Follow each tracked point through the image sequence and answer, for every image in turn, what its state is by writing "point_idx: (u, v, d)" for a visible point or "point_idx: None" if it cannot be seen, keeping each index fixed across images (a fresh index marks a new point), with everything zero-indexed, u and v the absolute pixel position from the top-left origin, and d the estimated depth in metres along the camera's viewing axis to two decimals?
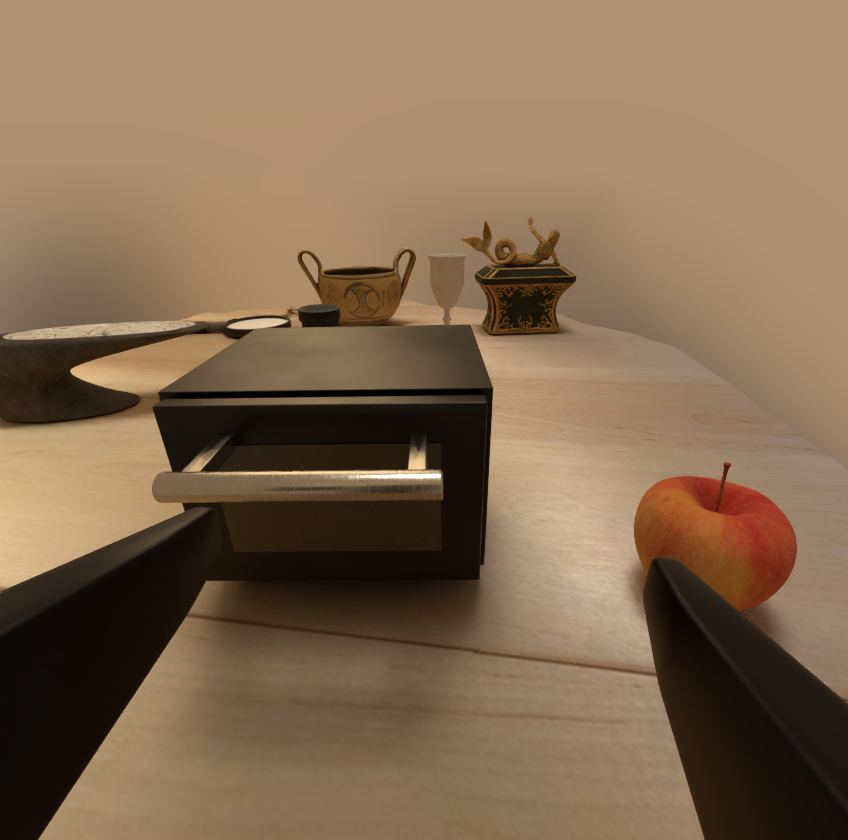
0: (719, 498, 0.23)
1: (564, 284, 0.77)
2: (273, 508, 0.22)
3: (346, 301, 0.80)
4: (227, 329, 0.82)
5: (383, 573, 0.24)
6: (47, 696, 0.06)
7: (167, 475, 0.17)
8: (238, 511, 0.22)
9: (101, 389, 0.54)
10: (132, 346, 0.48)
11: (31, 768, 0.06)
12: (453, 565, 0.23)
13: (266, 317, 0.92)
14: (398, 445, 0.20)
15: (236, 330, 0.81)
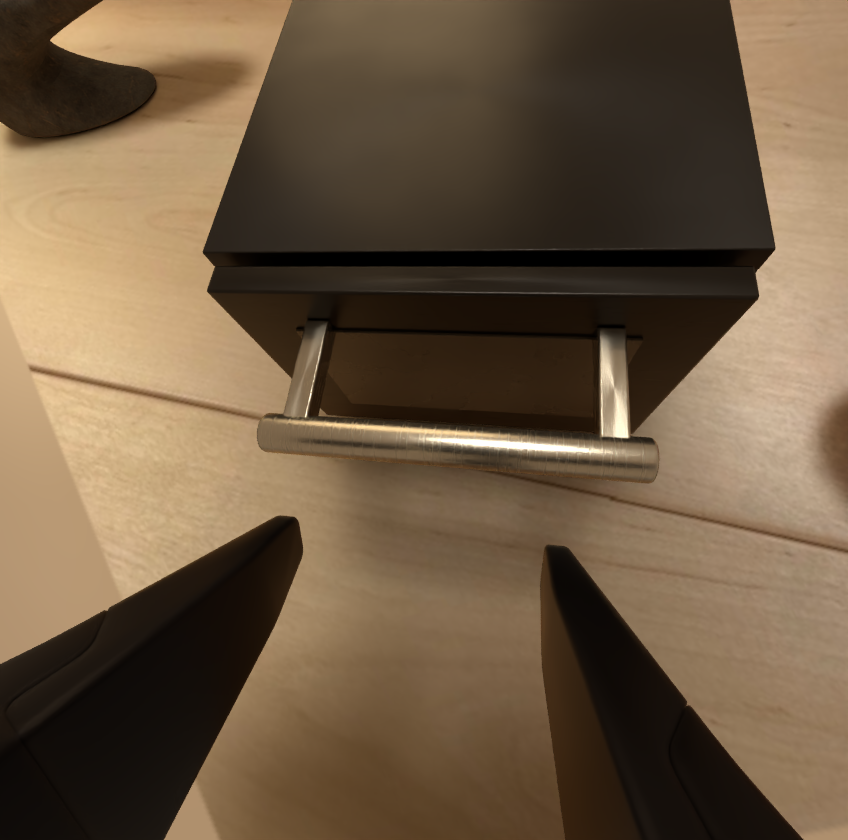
0: None
1: None
2: (391, 380, 0.18)
3: None
4: None
5: (518, 423, 0.21)
6: (160, 719, 0.06)
7: (270, 429, 0.13)
8: (350, 378, 0.18)
9: (102, 68, 0.39)
10: None
11: (145, 796, 0.06)
12: None
13: None
14: (572, 339, 0.13)
15: None
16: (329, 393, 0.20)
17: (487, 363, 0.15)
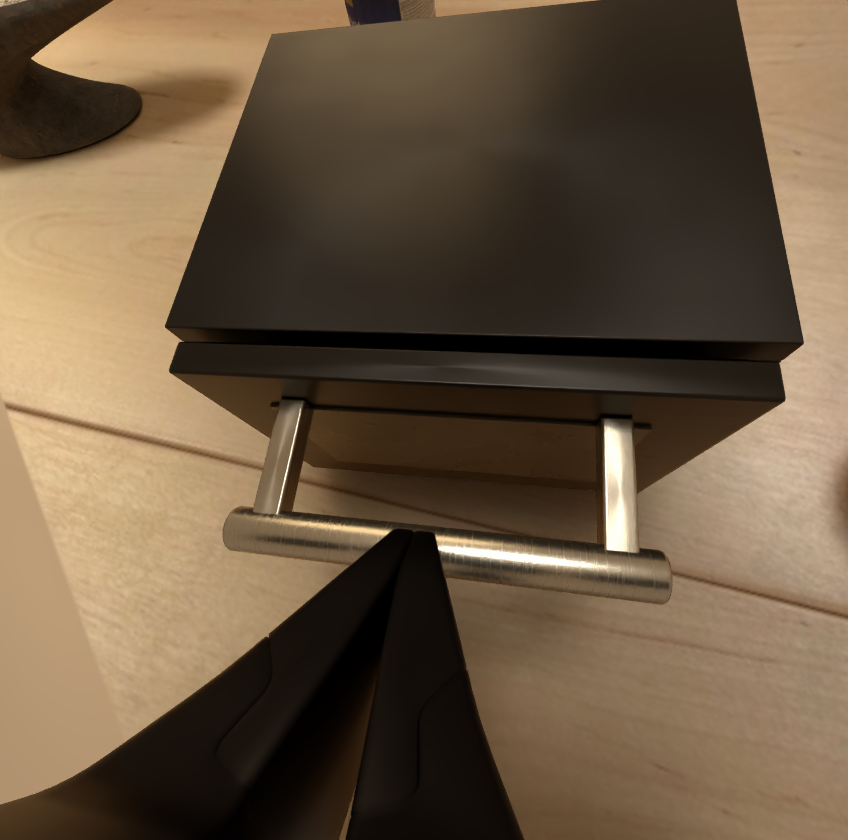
0: None
1: None
2: (378, 446, 0.16)
3: None
4: None
5: (515, 481, 0.20)
6: (330, 755, 0.06)
7: (238, 530, 0.11)
8: (334, 442, 0.17)
9: (85, 86, 0.38)
10: (86, 14, 0.30)
11: (317, 838, 0.06)
12: None
13: None
14: (573, 425, 0.12)
15: None
16: (313, 452, 0.19)
17: (480, 439, 0.14)
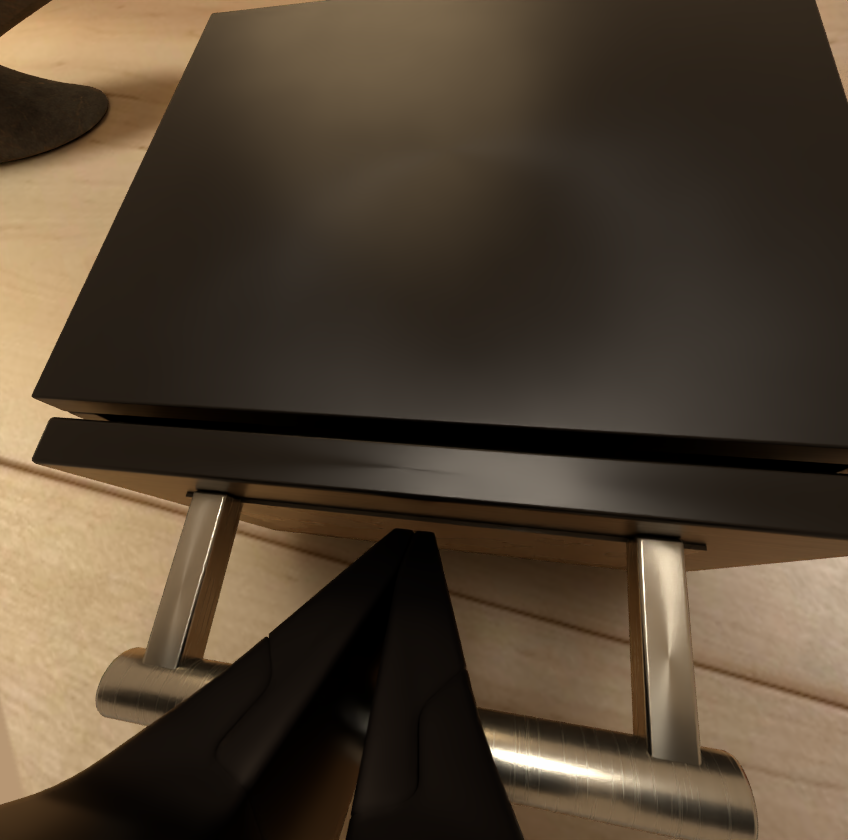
0: None
1: None
2: (340, 528, 0.13)
3: None
4: None
5: (514, 556, 0.16)
6: (330, 755, 0.06)
7: (115, 696, 0.08)
8: None
9: (47, 88, 0.35)
10: (35, 5, 0.27)
11: (317, 838, 0.06)
12: None
13: None
14: (595, 538, 0.09)
15: None
16: (267, 522, 0.15)
17: (467, 535, 0.11)
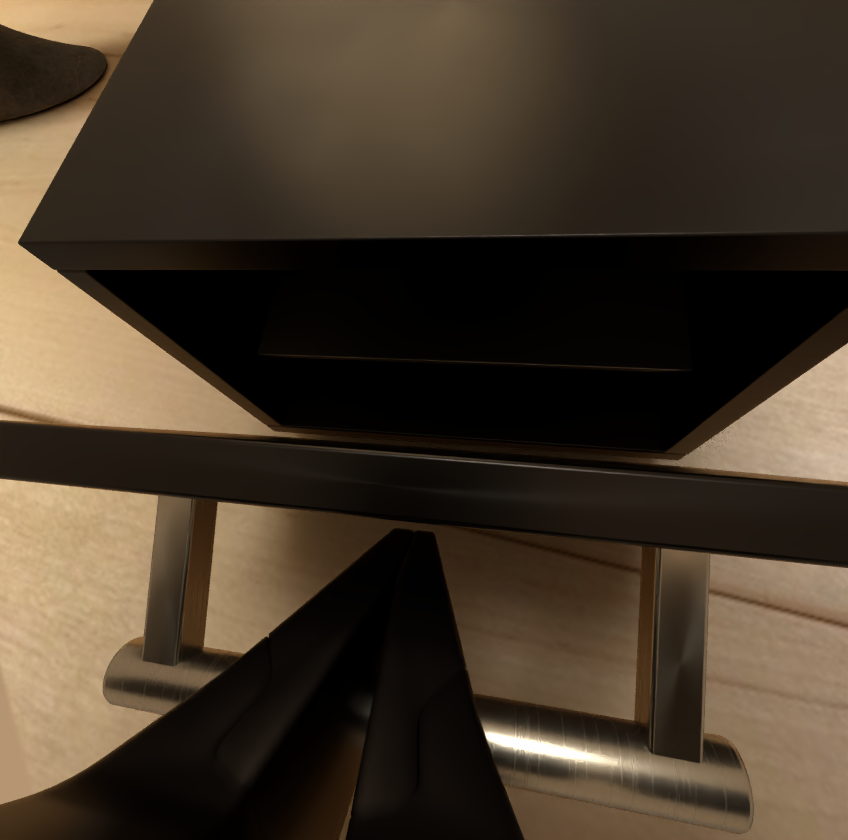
0: None
1: None
2: None
3: None
4: None
5: None
6: (330, 755, 0.06)
7: (121, 693, 0.08)
8: None
9: (44, 46, 0.35)
10: None
11: (317, 838, 0.06)
12: None
13: None
14: None
15: None
16: None
17: None
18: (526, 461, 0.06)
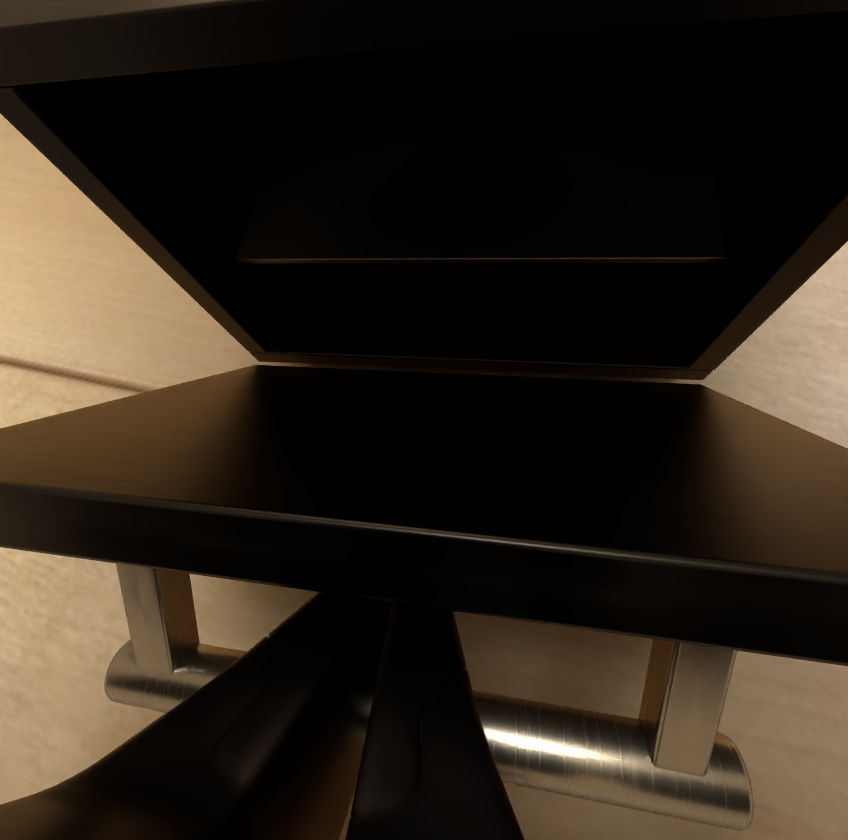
0: None
1: None
2: None
3: None
4: None
5: None
6: (330, 755, 0.06)
7: (124, 699, 0.08)
8: None
9: None
10: None
11: (317, 838, 0.06)
12: None
13: None
14: None
15: None
16: None
17: None
18: (531, 539, 0.05)
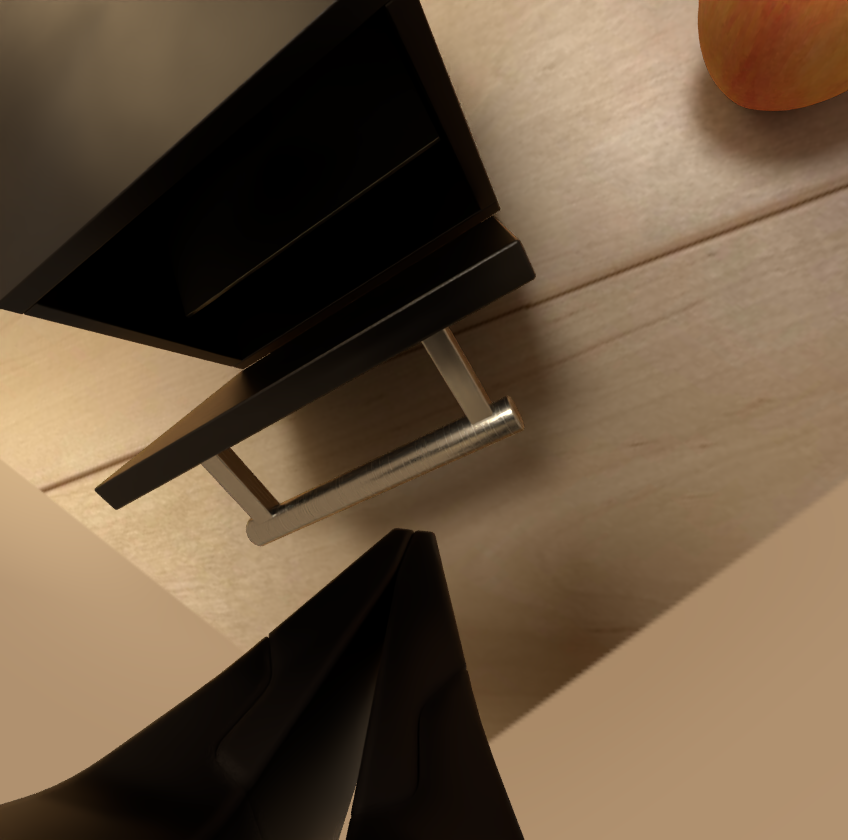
0: None
1: None
2: None
3: None
4: None
5: None
6: (330, 755, 0.06)
7: (261, 539, 0.16)
8: None
9: None
10: None
11: (317, 838, 0.06)
12: None
13: None
14: None
15: None
16: None
17: None
18: (321, 354, 0.11)
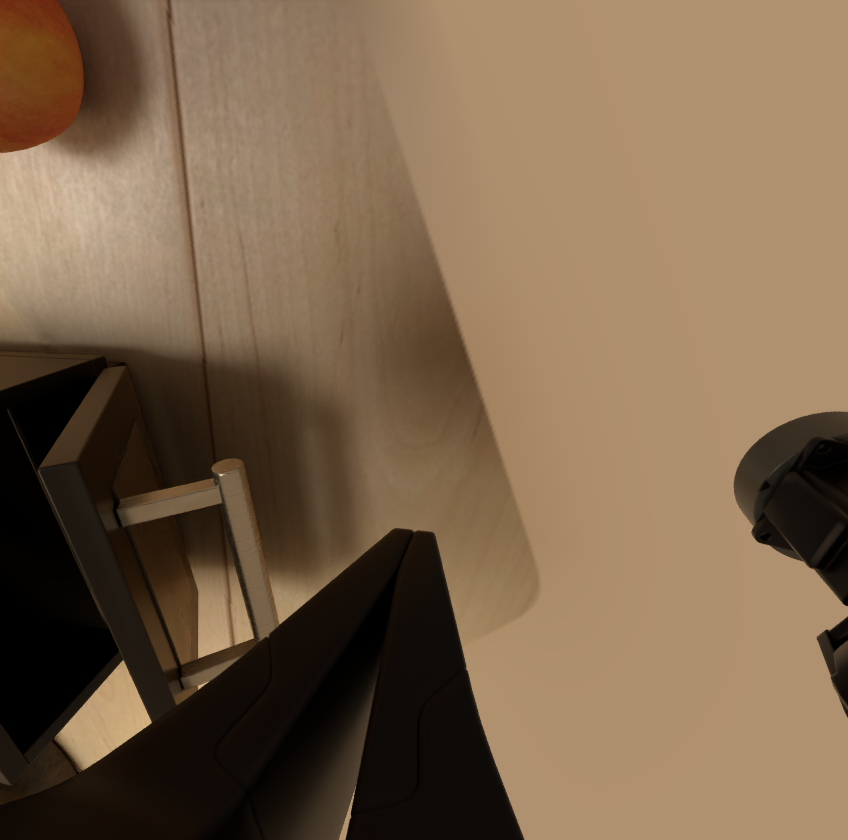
0: None
1: None
2: (178, 591, 0.22)
3: None
4: None
5: (154, 461, 0.23)
6: (330, 755, 0.06)
7: None
8: (185, 615, 0.23)
9: None
10: None
11: (317, 838, 0.06)
12: (132, 399, 0.21)
13: None
14: (130, 529, 0.16)
15: None
16: (193, 612, 0.25)
17: (154, 554, 0.19)
18: (101, 609, 0.15)
